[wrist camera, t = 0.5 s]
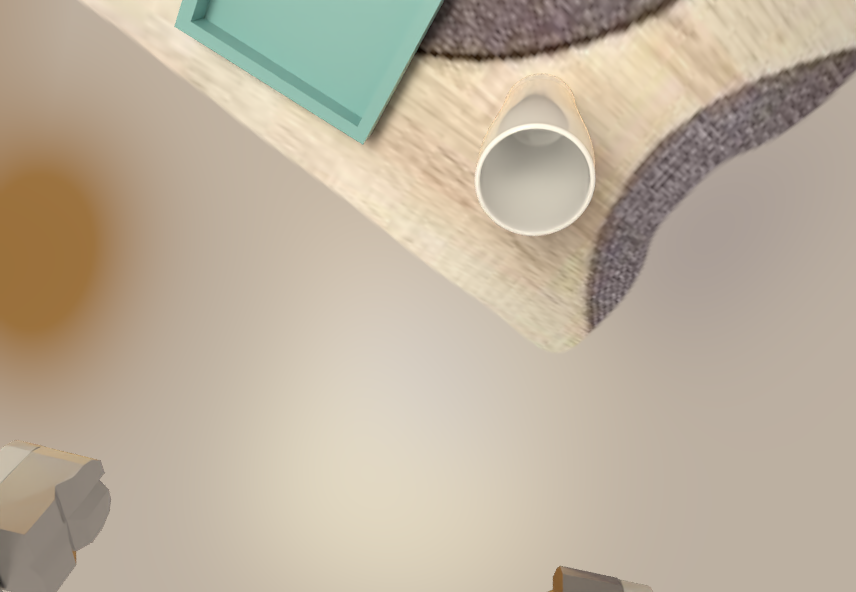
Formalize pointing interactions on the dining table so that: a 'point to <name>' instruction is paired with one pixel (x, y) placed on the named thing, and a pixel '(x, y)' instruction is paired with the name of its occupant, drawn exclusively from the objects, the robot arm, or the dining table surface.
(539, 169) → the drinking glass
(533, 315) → the dining table surface
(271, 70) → the tray
